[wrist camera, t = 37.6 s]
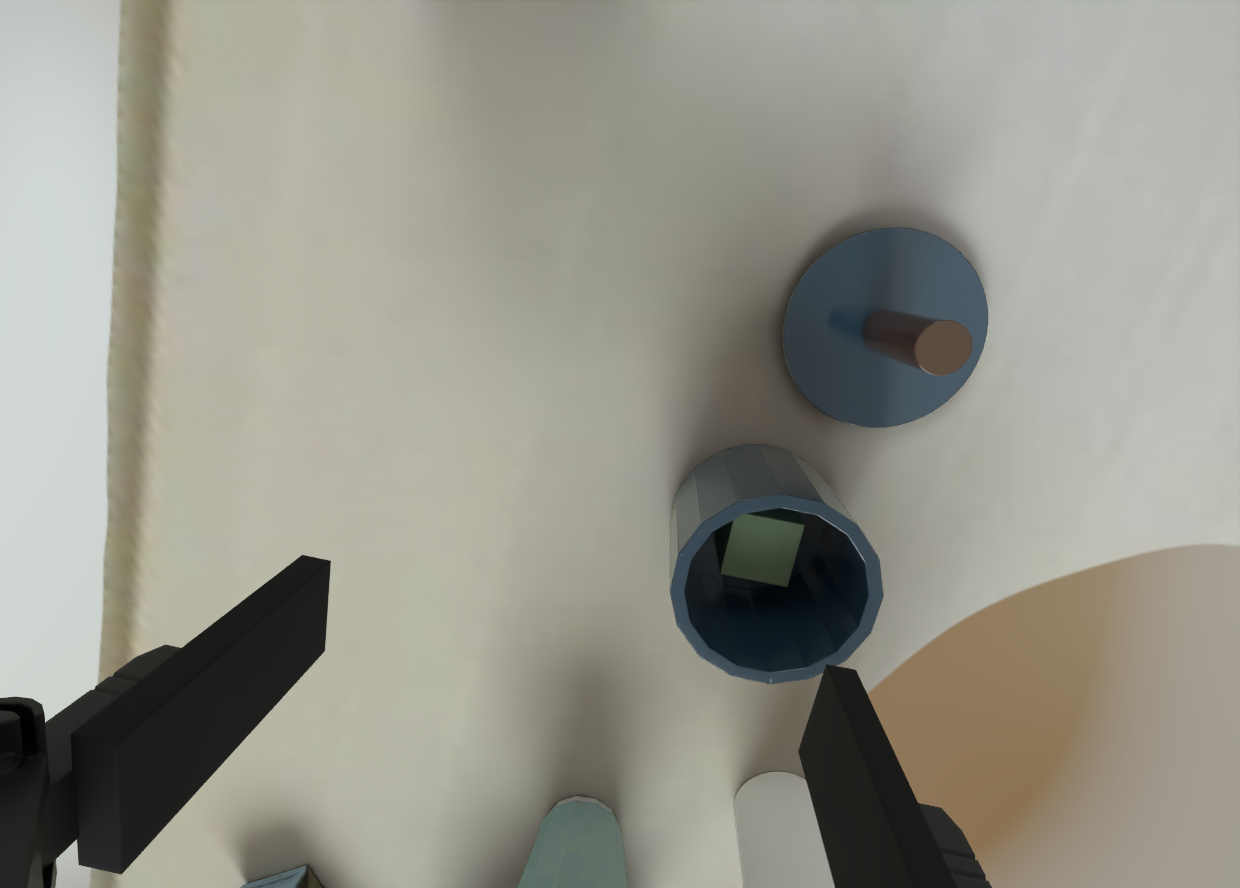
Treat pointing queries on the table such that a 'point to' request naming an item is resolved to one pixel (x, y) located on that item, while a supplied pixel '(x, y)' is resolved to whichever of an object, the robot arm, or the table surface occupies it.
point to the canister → (761, 612)
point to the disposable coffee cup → (577, 848)
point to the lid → (885, 327)
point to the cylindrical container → (779, 834)
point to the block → (760, 545)
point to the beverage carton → (288, 880)
